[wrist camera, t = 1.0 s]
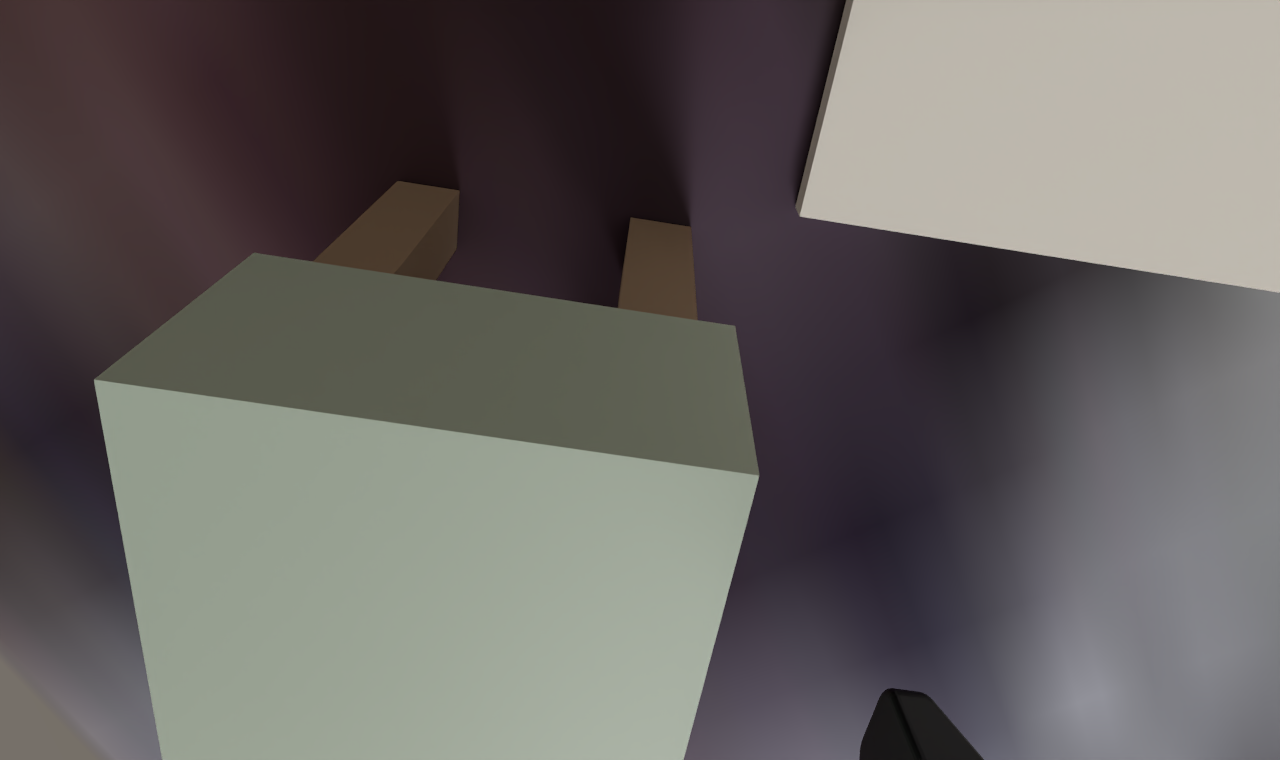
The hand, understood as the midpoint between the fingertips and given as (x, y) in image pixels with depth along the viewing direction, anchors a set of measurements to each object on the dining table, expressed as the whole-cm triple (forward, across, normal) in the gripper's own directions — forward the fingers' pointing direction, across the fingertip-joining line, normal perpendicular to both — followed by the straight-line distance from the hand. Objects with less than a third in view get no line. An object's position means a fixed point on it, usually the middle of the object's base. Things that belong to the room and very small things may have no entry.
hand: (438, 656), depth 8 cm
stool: (+7, 0, 0) cm, 7 cm away
